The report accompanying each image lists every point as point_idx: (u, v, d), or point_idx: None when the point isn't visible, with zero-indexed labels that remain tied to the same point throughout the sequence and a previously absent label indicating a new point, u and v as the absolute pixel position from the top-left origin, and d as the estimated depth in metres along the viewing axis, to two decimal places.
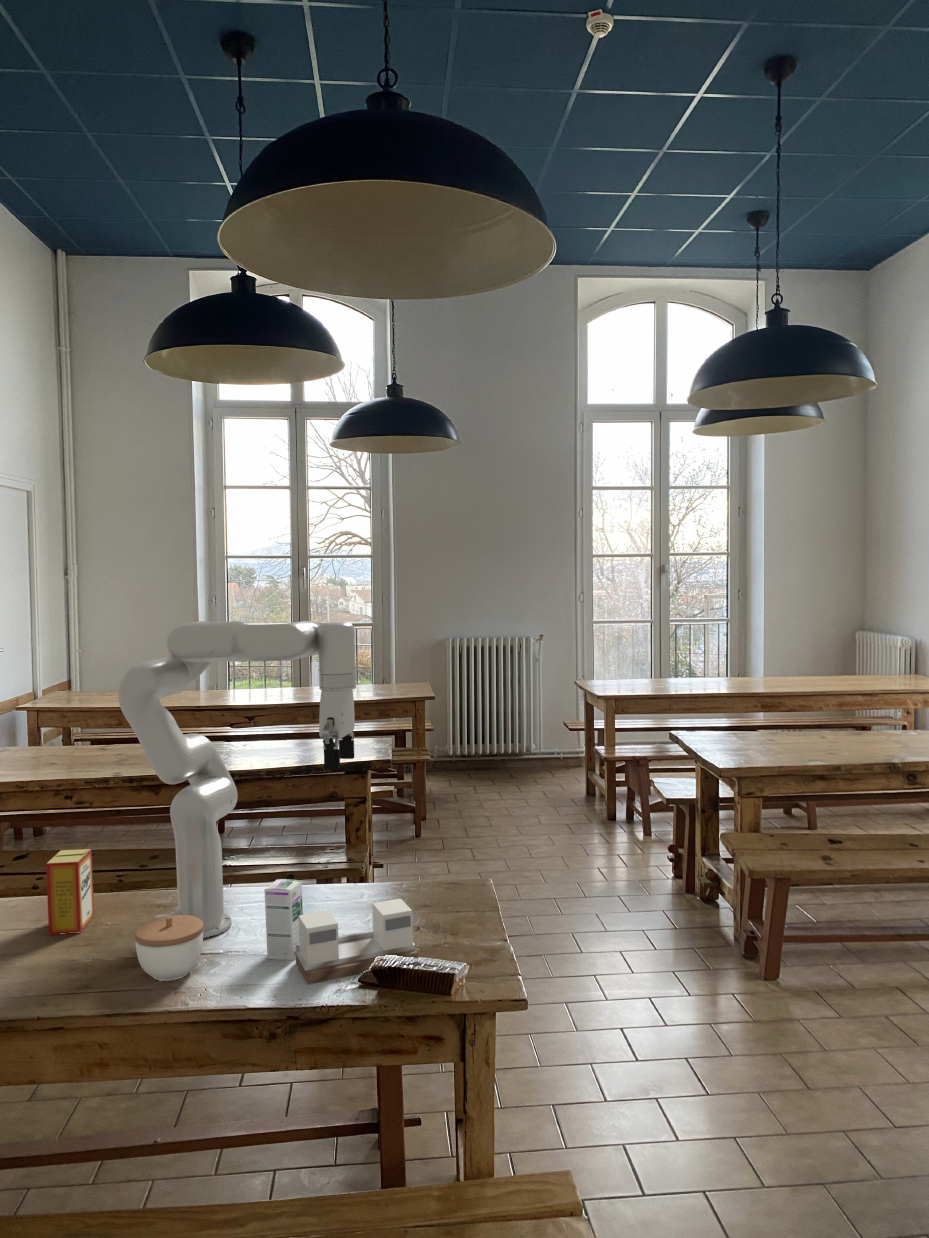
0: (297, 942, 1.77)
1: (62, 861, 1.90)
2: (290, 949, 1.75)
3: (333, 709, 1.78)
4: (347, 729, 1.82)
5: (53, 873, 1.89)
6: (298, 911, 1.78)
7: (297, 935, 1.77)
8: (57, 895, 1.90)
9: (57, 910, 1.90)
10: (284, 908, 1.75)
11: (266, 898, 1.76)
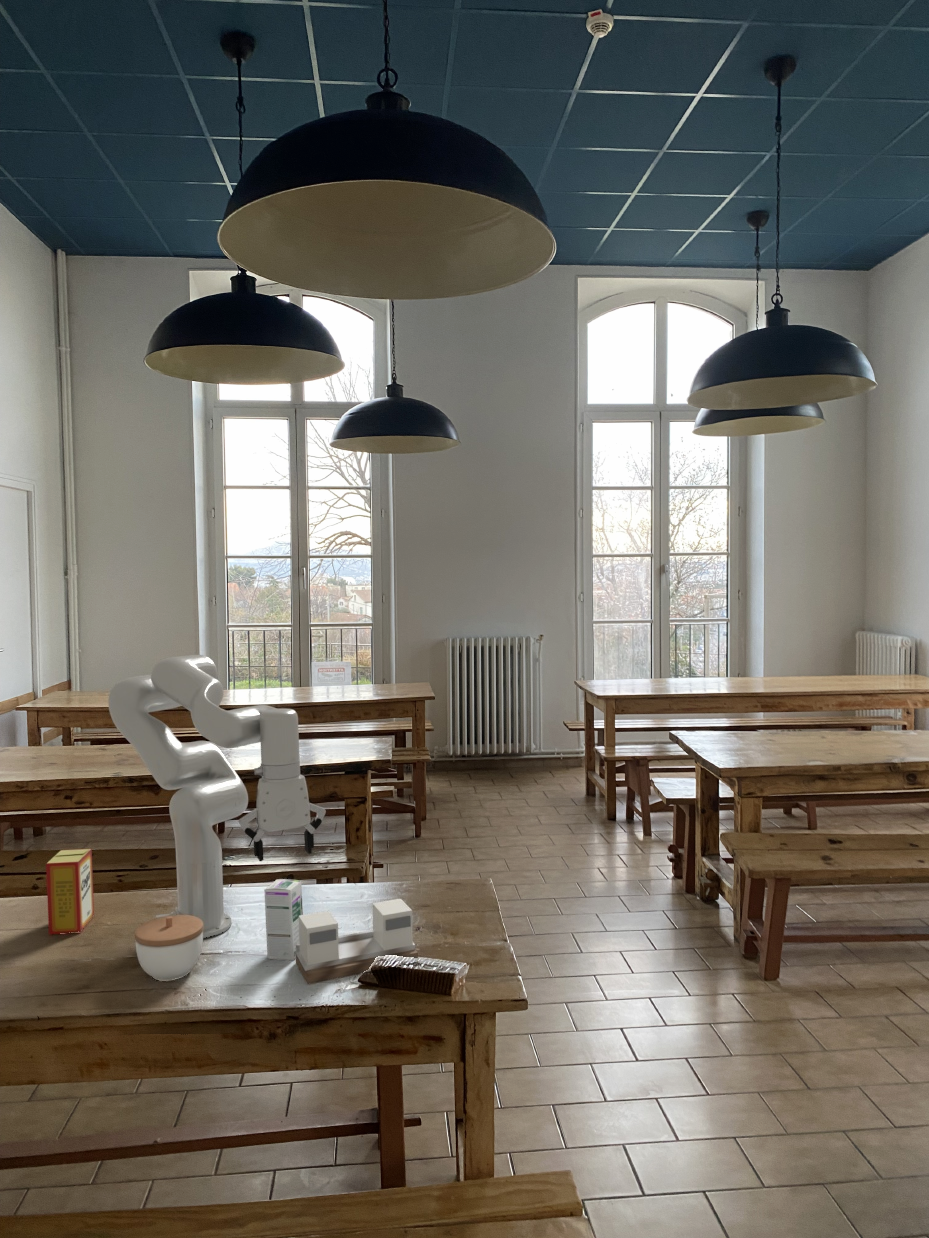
0: (297, 942, 1.77)
1: (62, 861, 1.90)
2: (290, 949, 1.75)
3: None
4: None
5: (53, 873, 1.89)
6: (298, 911, 1.78)
7: (297, 935, 1.77)
8: (57, 895, 1.90)
9: (57, 910, 1.90)
10: (284, 908, 1.75)
11: (266, 898, 1.76)
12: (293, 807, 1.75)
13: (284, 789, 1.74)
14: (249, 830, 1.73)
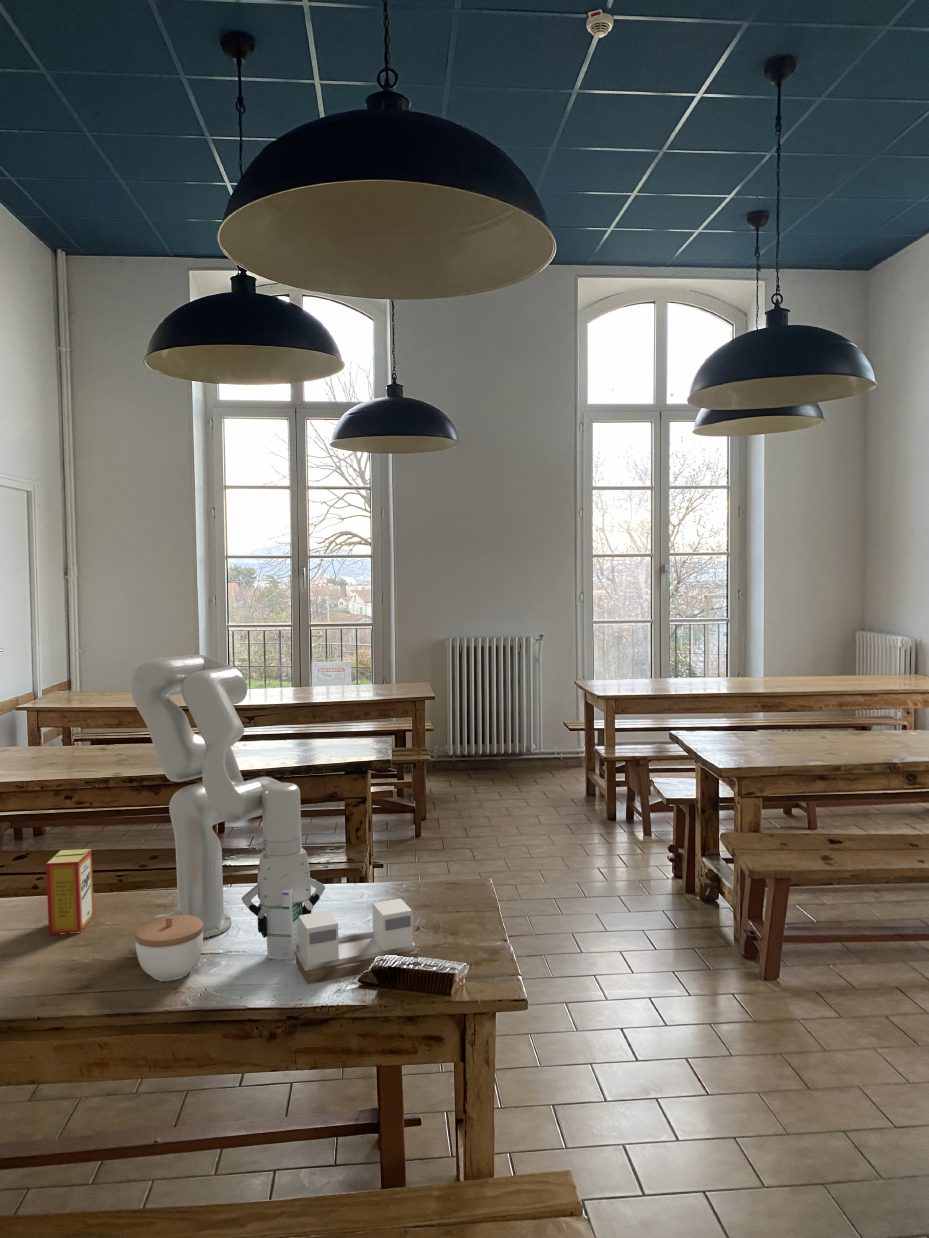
0: (297, 942, 1.77)
1: (62, 861, 1.90)
2: (290, 949, 1.75)
3: None
4: None
5: (53, 873, 1.89)
6: (298, 911, 1.78)
7: (297, 935, 1.77)
8: (57, 895, 1.90)
9: (57, 910, 1.90)
10: (284, 908, 1.75)
11: None
12: (294, 882, 1.76)
13: (285, 864, 1.75)
14: (253, 907, 1.75)
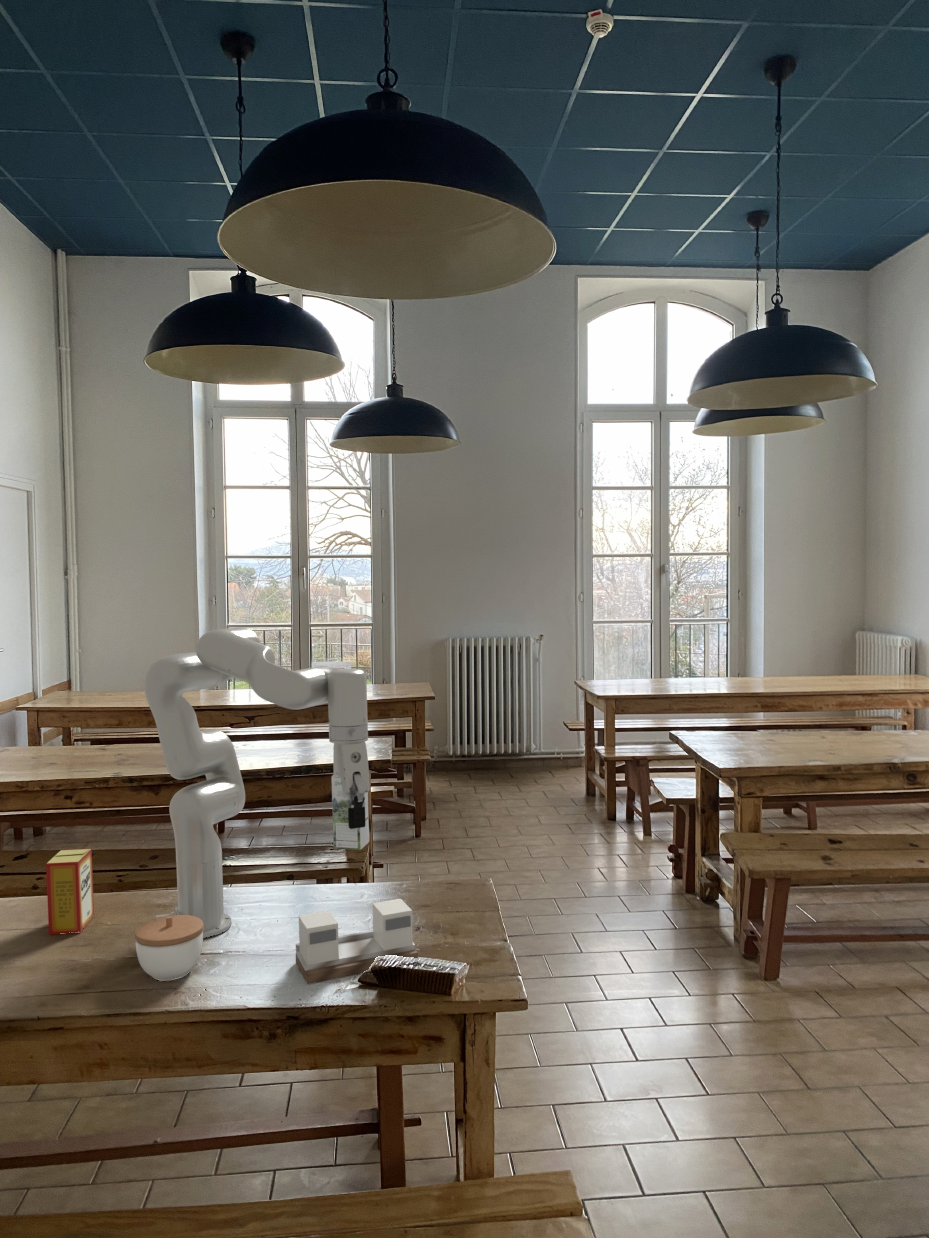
0: None
1: (62, 861, 1.90)
2: (368, 830, 1.74)
3: None
4: None
5: (53, 873, 1.89)
6: None
7: None
8: (57, 895, 1.90)
9: (57, 910, 1.90)
10: None
11: None
12: None
13: None
14: None
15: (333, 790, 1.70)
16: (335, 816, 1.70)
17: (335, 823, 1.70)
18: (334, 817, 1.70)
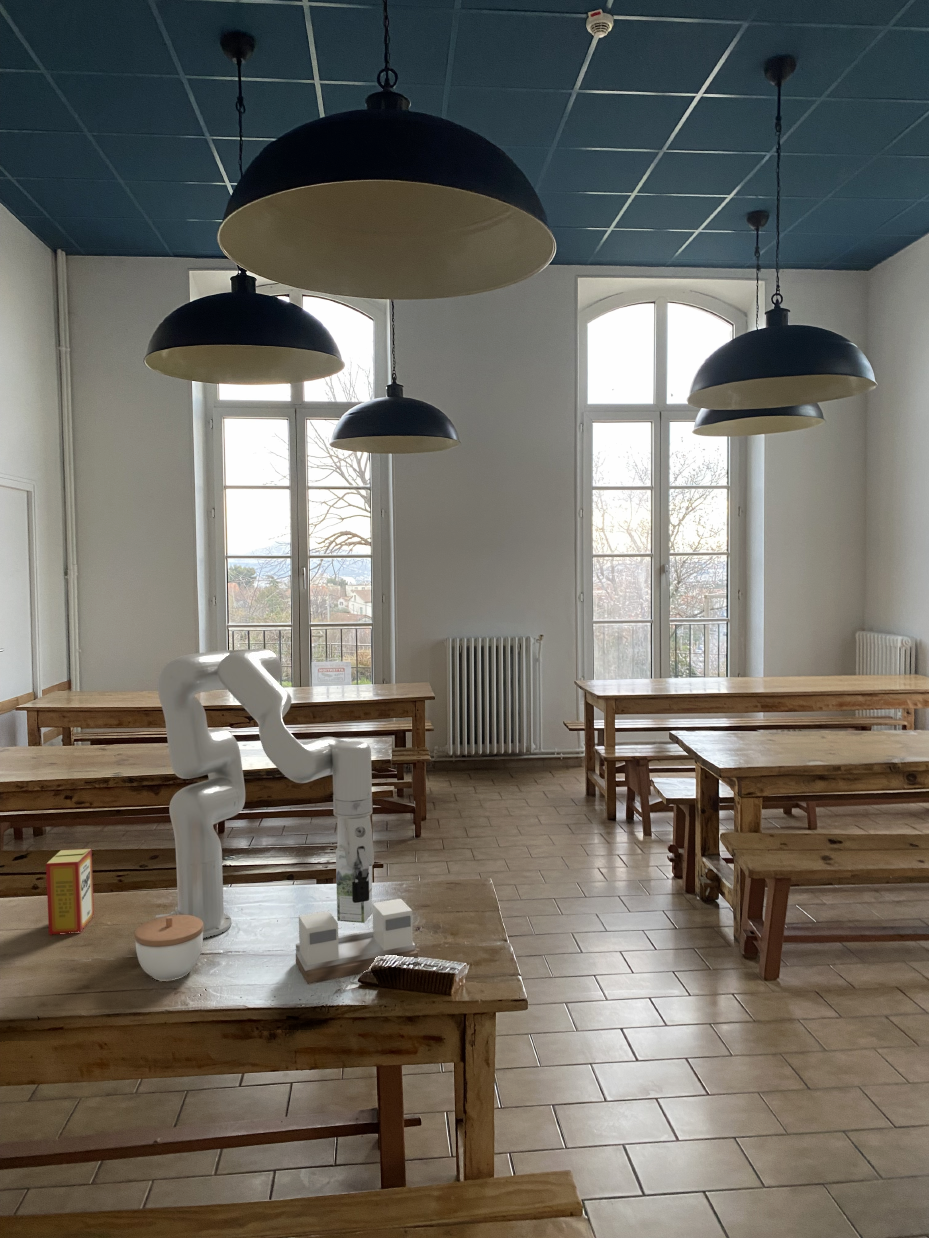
0: None
1: (62, 861, 1.90)
2: (371, 902, 1.75)
3: None
4: None
5: (53, 873, 1.89)
6: None
7: None
8: (57, 895, 1.90)
9: (57, 910, 1.90)
10: None
11: None
12: None
13: None
14: None
15: (337, 863, 1.71)
16: (339, 889, 1.71)
17: (339, 896, 1.71)
18: (338, 890, 1.71)
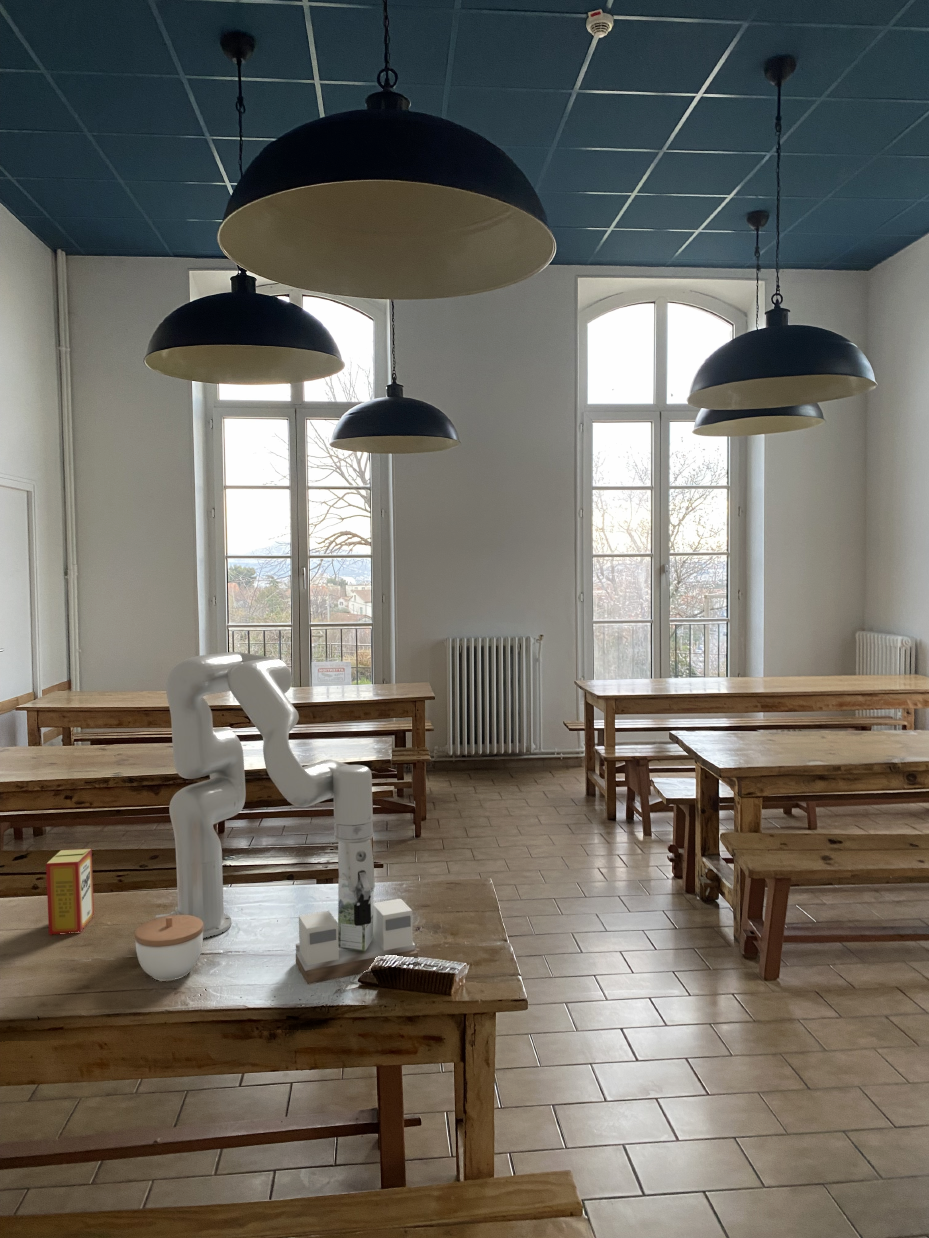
0: None
1: (62, 861, 1.90)
2: (372, 928, 1.75)
3: None
4: None
5: (53, 873, 1.89)
6: None
7: None
8: (57, 895, 1.90)
9: (57, 910, 1.90)
10: (371, 891, 1.73)
11: None
12: None
13: None
14: None
15: (340, 892, 1.70)
16: (340, 917, 1.71)
17: (340, 924, 1.71)
18: (339, 918, 1.71)
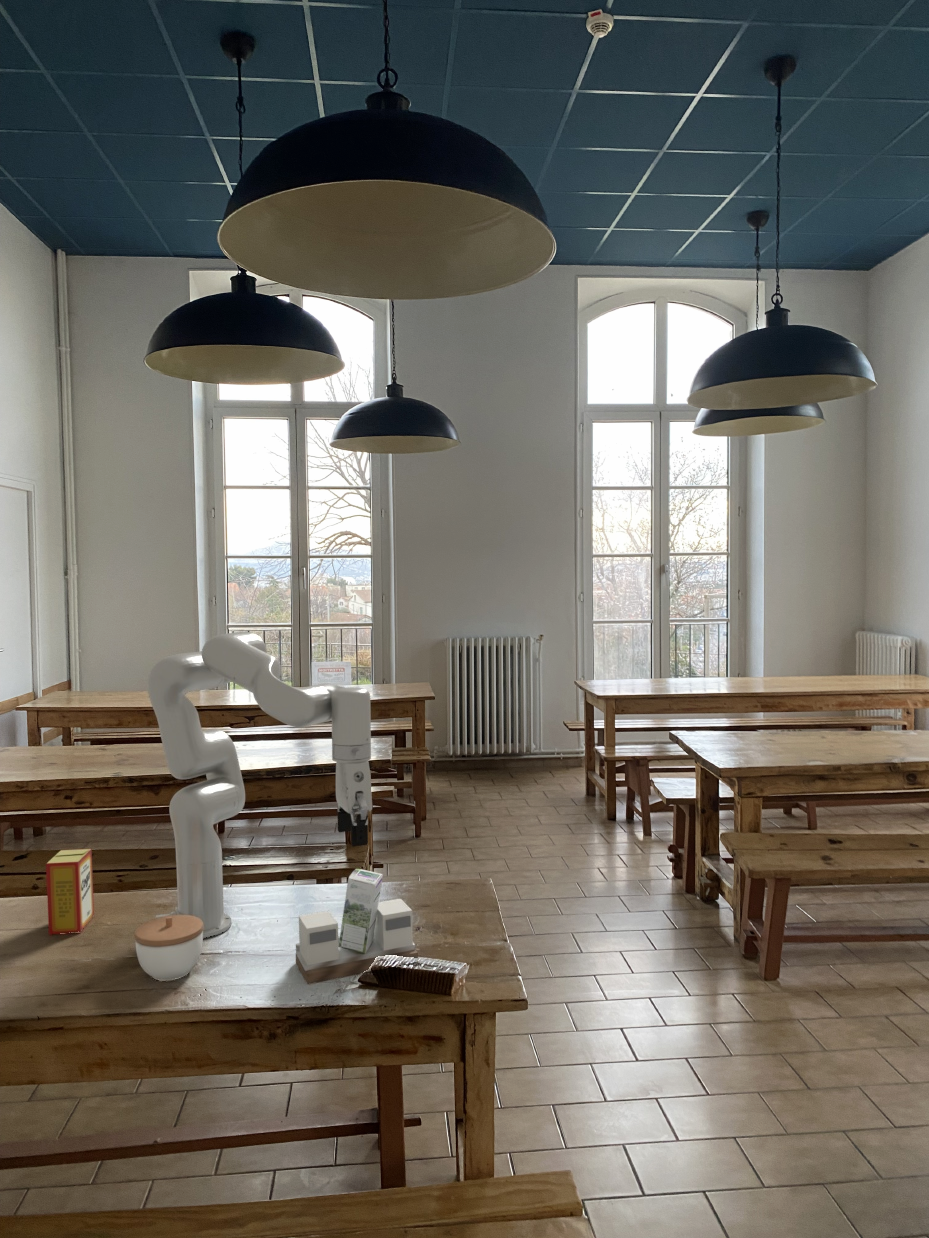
0: None
1: (62, 861, 1.90)
2: (373, 931, 1.75)
3: None
4: (339, 800, 1.72)
5: (53, 873, 1.89)
6: None
7: None
8: (57, 895, 1.90)
9: (57, 910, 1.90)
10: (378, 894, 1.74)
11: (375, 892, 1.70)
12: None
13: None
14: None
15: (348, 892, 1.70)
16: (345, 917, 1.71)
17: (344, 923, 1.71)
18: (344, 917, 1.71)
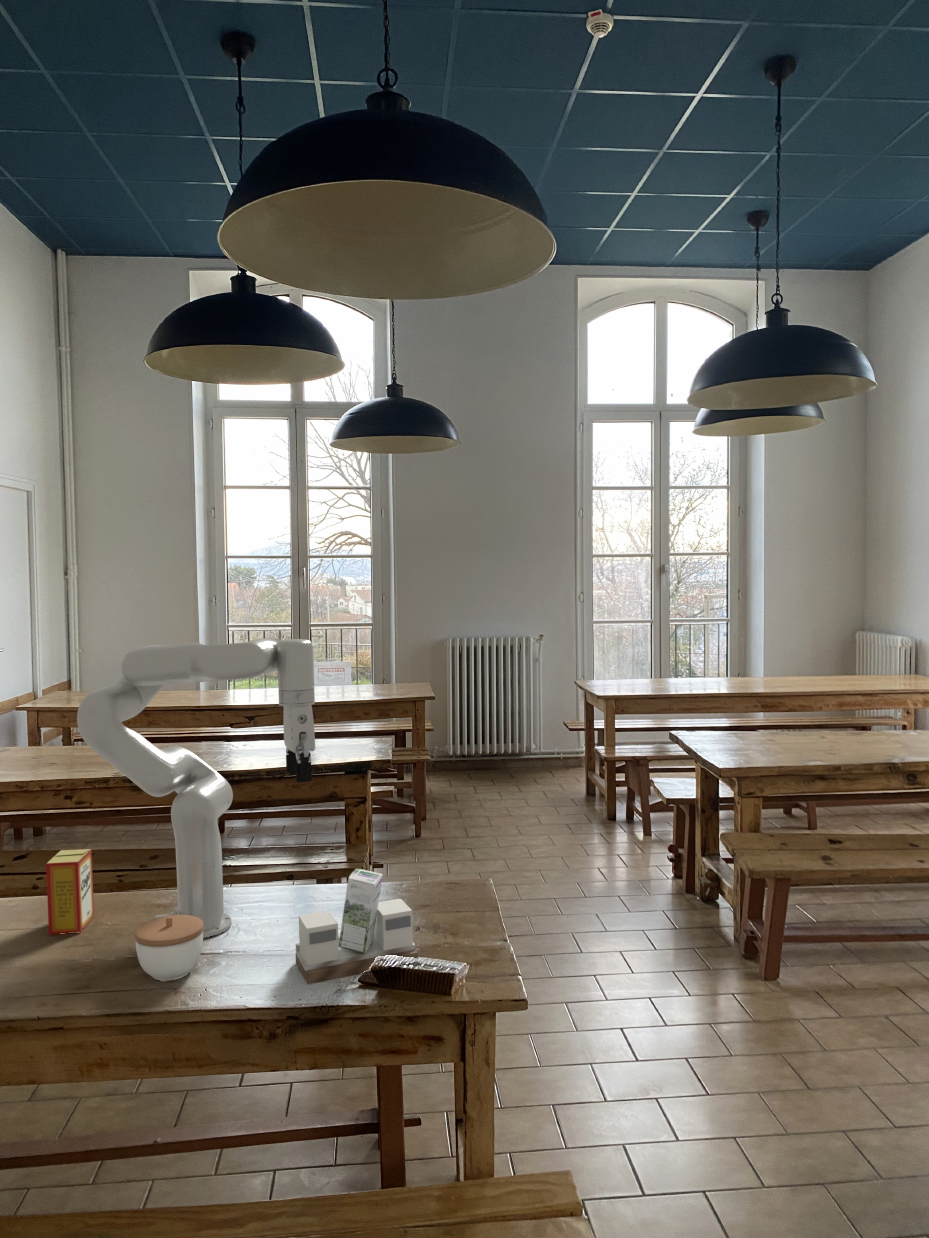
0: None
1: (62, 861, 1.90)
2: (373, 931, 1.75)
3: None
4: (286, 742, 1.89)
5: (53, 873, 1.89)
6: None
7: None
8: (57, 895, 1.90)
9: (57, 910, 1.90)
10: (378, 894, 1.74)
11: (375, 892, 1.70)
12: None
13: None
14: None
15: (348, 892, 1.70)
16: (345, 917, 1.71)
17: (344, 923, 1.71)
18: (344, 917, 1.71)
